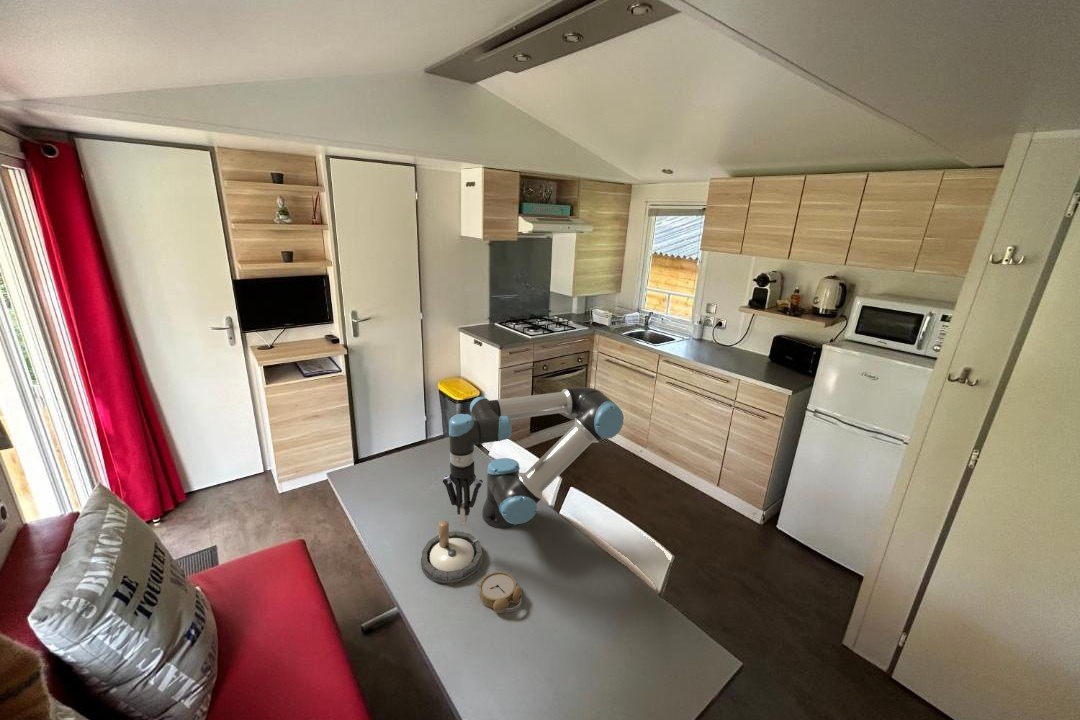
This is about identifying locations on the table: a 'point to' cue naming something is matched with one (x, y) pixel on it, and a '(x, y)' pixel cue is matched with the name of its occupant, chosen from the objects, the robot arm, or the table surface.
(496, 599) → the alarm clock
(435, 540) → the housing
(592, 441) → the robot arm
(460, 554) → the dial
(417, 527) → the table surface
